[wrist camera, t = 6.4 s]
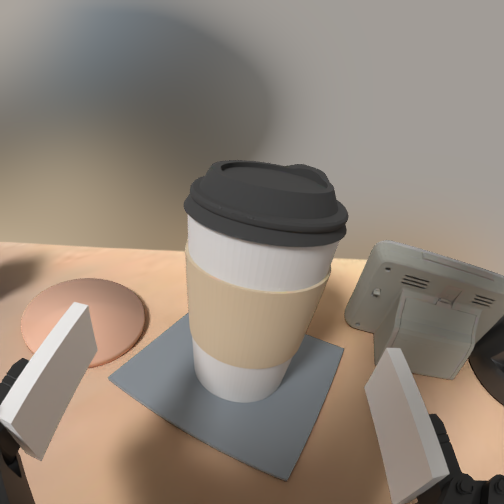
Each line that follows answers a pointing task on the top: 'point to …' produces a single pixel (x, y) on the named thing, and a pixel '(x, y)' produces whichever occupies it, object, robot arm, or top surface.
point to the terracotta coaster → (101, 312)
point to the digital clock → (425, 306)
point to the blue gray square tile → (233, 413)
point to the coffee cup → (256, 270)
